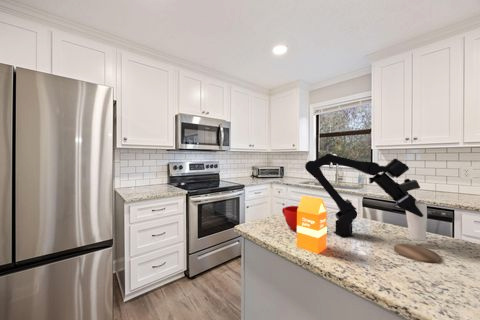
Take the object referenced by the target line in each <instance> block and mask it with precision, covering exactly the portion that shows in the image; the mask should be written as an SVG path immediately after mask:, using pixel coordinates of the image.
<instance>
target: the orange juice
mask: <svg viewBox="0 0 480 320" xmlns="http://www.w3.org/2000/svg"><path fill="white" fill-rule="evenodd" d="M298 206H299V207H298V210H297V231H296V247H297V248H300V249H302V250H305V251H308V252H311V253H314V254H316V255H319V254H320V253H321V252H323V251H324V250H326V249H327V233H328V232H327V230H328V229H327V228H328V225H327V223H328V222H327V220H328V218H327V217H328V212H327V209H326V205H325V202H324V200H323V198H321V197H315V196H307V195H301V199H300V201H299V205H298Z"/></svg>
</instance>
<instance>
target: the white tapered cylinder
mask: <svg viewBox="0 0 480 320" xmlns="http://www.w3.org/2000/svg"><path fill="white" fill-rule="evenodd" d="M415 205H416V206H417V207H418V209H419V210H420V211H421V213H422V214H423V215H424V216H423V217H419V216H417V215H415V214H413V213H411V212H409V211H406V210H405V216H406V223H407V229H408V237H409V239H411V240H414V241H419V242H424V241H426V240H427V224H428V208H427V206H428V205H427V202H424V201H417V200H416V201H415Z"/></svg>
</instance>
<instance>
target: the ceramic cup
mask: <svg viewBox="0 0 480 320" xmlns="http://www.w3.org/2000/svg"><path fill="white" fill-rule="evenodd" d="M298 207H299V205H289V206H285V207H283V208H282V209H281V210H282V214H283V216H284V219H285V222H286V224H287V226H288V227H289V229H290V230H291V231H294V232H297V210H298Z"/></svg>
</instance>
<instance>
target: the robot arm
mask: <svg viewBox="0 0 480 320" xmlns="http://www.w3.org/2000/svg"><path fill="white" fill-rule="evenodd" d="M328 163H331V164H336V165H338V166H339V165H340V166H344V167H347V168H351V169H354V170H356V171H358V172H361V173H363V174H366V175H369V176H372V177H368V180H369V181H368V183H369V184H373V183H375V184H376V185H378V187H379V188H381V189H382V191H384V193H386V194H387V195H388V196H389V197H390V198H391V199H392V200H393V201H394V202H395V204H396V205H397V206H398V208H400V209H401V210H405V212H406V211H409V212H411V213H413V214H415V215H417V216H419V217H423V216H424V215H423V214H422V213H421V211H420V210H419V209H418V207H417V206H416V205H415V201H417V199H416V198H415V197H414V196H413V195H412V194H411V193H409V191H412V190H413V191H414V190H418V189H421V186H420V184H419V183H418V181H417V180H416V179H412V180H411V179H409V178H406V179H404V180H403V182H402V183H399V182H396V181H395V180H394V178H395V179H398V178H400V177H401V176H402V175H404V174H405V173H406V172H408V171H410V170H409V169H410V168H409V166H408V165H407V164H406V163H404V162H402V161H401V160H399V159H397V158H393V159H392V160H391V161H389V162H388V163H387V164H386V165H380V164H379V163H378V162H376V161H375V162H373V161H362V160H355V159H351V158H347V157H343V156H339V155H334V154H331V153H325V154H324V155H322V156H320V157H318V158H316V159H315V160H308V161H307V162H305V165H304V169H305V171H307V172H308V173H309V174H310V175H311V177H313V178H315V180H316V181H318V183H319V184H320V185H321V186H322V188H323V189H324V190H325V192H326V193H327V194H328V195H329V197H331V199H332V200H333V202H334V203H335V204H336V206H337V208H338V211H337V212H336V213H335V214H334V215H335V217H336V219H337V220H335V230H334V231H332V233H334V234H335V235H337V236H339V237H340V238H349V237H350V238H351V237H355V235H354V234H353V222H354V220H355V219H356V218H357V217H358V212H357V211H358V210H357V207H355V206H354V205H353V203H352V202H351V201H350V200H349V199H348V198H347V199H344V198H343V197H342V196H341V194H339V192H338V191H337V190H336V188H335V187H334V186H333V185H332V183H331V182H330V181H329V180H328V179H327V177H325V175H324V173H323V171H322V169H321V167H323V166H325V165H326V164H328Z"/></svg>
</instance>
